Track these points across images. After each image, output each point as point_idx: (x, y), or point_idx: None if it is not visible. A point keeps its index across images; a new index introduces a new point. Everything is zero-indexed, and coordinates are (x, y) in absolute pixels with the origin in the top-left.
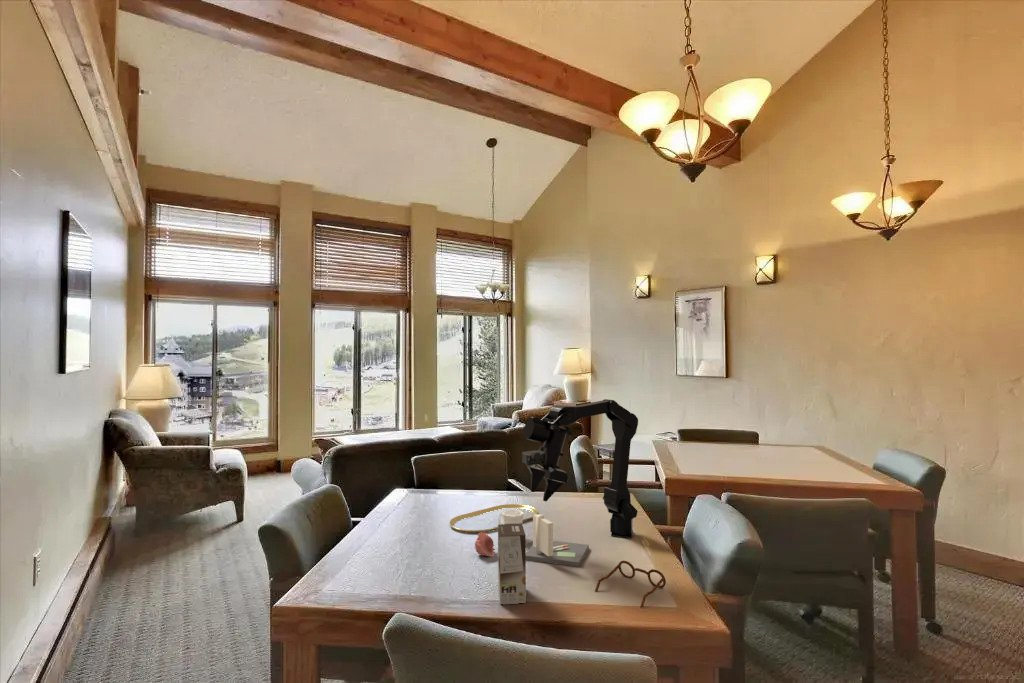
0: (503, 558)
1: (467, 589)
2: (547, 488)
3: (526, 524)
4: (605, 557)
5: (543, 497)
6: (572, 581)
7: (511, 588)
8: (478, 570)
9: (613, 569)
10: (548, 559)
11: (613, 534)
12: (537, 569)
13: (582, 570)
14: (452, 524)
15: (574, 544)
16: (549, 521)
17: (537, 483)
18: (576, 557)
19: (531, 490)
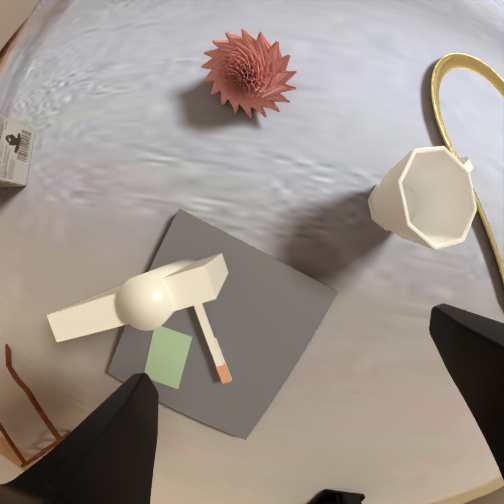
0: None
1: (54, 67)
2: (49, 459)
3: (482, 275)
4: (176, 448)
5: (131, 386)
6: (38, 317)
7: None
8: (135, 73)
9: (43, 417)
10: None
11: (324, 495)
12: (103, 242)
13: (92, 367)
14: (476, 67)
15: (254, 404)
16: (77, 334)
17: (474, 395)
18: None
19: (436, 312)
